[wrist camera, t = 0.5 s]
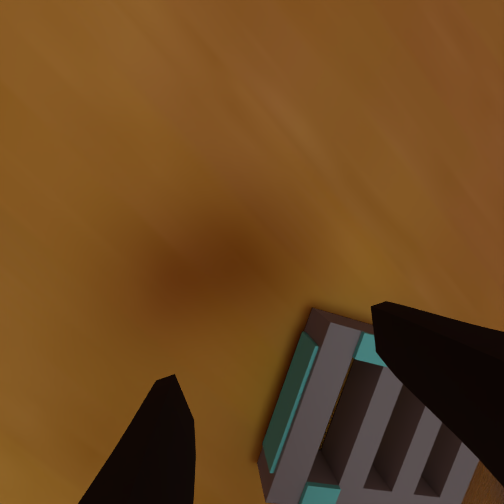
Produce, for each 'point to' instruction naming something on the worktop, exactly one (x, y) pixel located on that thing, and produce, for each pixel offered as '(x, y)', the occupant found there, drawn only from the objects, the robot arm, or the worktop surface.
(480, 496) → the grey slab
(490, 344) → the robot arm
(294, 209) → the worktop surface
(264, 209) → the worktop surface
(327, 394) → the slot rack
